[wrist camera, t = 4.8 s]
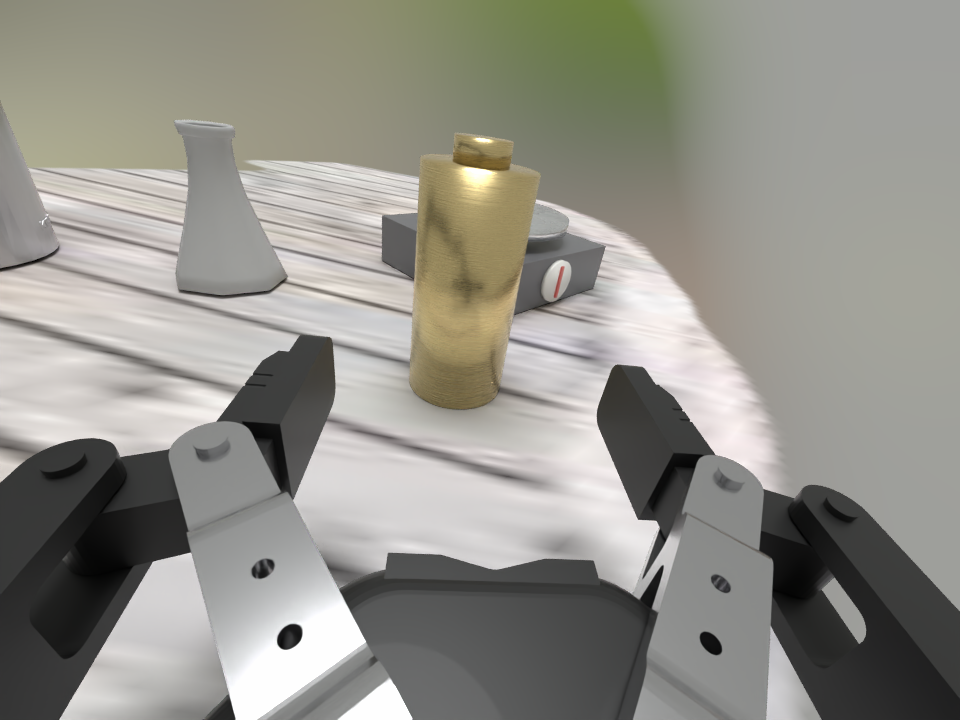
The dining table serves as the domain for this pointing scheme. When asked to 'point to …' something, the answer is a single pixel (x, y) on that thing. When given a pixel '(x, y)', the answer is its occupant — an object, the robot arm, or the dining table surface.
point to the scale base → (545, 266)
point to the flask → (220, 220)
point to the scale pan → (547, 224)
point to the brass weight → (468, 268)
